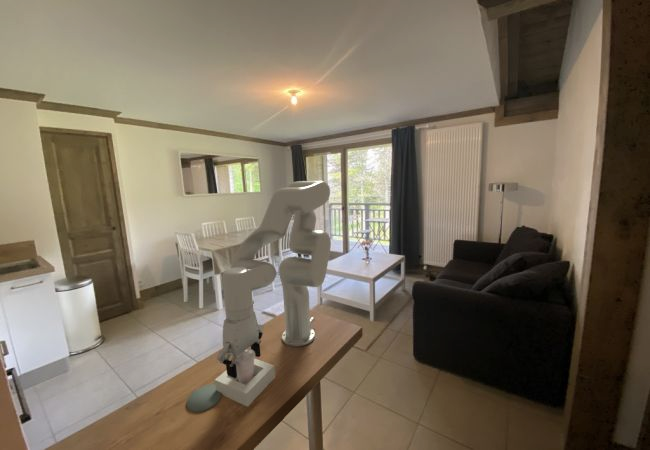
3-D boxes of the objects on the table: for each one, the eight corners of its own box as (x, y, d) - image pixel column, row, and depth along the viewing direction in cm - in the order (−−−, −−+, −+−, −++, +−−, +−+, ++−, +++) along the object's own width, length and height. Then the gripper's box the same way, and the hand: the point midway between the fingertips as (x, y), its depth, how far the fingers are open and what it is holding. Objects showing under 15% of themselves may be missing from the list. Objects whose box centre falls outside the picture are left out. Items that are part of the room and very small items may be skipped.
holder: (245, 365, 88) (244, 354, 87) (275, 377, 82) (274, 365, 81) (216, 391, 77) (214, 379, 76) (247, 406, 72) (246, 393, 71)
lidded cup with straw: (234, 395, 76) (230, 350, 73) (235, 379, 82) (231, 337, 79) (257, 389, 77) (254, 345, 75) (257, 374, 83) (253, 333, 81)
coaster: (207, 382, 81) (207, 380, 81) (228, 392, 77) (228, 390, 77) (179, 404, 73) (179, 402, 73) (202, 417, 69) (201, 415, 69)
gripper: (250, 296, 85) (255, 345, 88) (204, 323, 70) (211, 381, 73) (269, 300, 82) (273, 351, 84) (225, 329, 66) (231, 390, 69)
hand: (244, 365), depth 79 cm, fingers open, 9 cm apart
